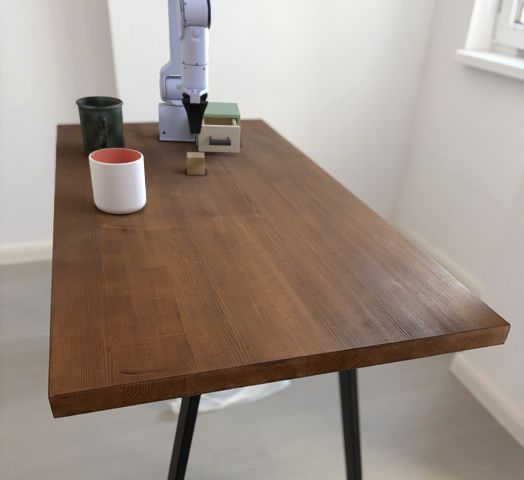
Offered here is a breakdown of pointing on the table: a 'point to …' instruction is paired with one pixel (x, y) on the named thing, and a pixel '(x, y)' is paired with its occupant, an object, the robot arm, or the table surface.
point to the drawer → (219, 135)
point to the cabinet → (221, 112)
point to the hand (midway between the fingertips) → (195, 130)
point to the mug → (101, 123)
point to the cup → (118, 180)
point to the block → (195, 163)
